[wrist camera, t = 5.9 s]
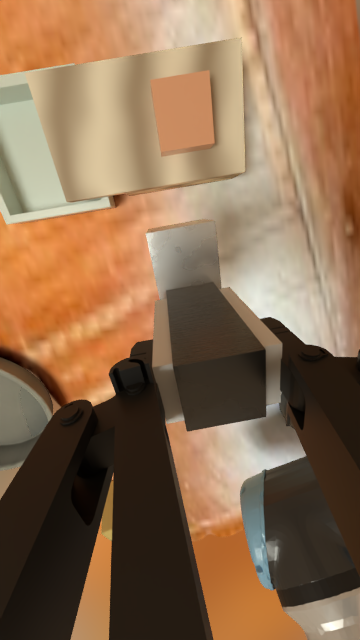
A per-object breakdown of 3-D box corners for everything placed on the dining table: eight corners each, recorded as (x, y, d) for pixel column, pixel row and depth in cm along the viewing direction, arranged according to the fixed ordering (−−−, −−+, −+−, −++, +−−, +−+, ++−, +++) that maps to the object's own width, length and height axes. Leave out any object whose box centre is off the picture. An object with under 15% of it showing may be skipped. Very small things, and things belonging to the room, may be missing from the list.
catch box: (85, 82, 24) (74, 63, 21) (115, 207, 30) (110, 206, 26) (-28, 101, 24) (-56, 84, 21) (22, 223, 29) (6, 224, 26)
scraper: (203, 219, 17) (284, 230, 6) (216, 337, 21) (277, 471, 10) (148, 229, 17) (128, 259, 6) (173, 345, 21) (187, 488, 10)
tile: (205, 82, 21) (209, 70, 19) (210, 148, 23) (214, 143, 21) (150, 91, 21) (150, 79, 19) (161, 156, 23) (161, 151, 21)
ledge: (225, 72, 25) (241, 37, 20) (230, 178, 29) (245, 171, 24) (51, 101, 25) (24, 73, 20) (82, 203, 29) (66, 202, 24)
